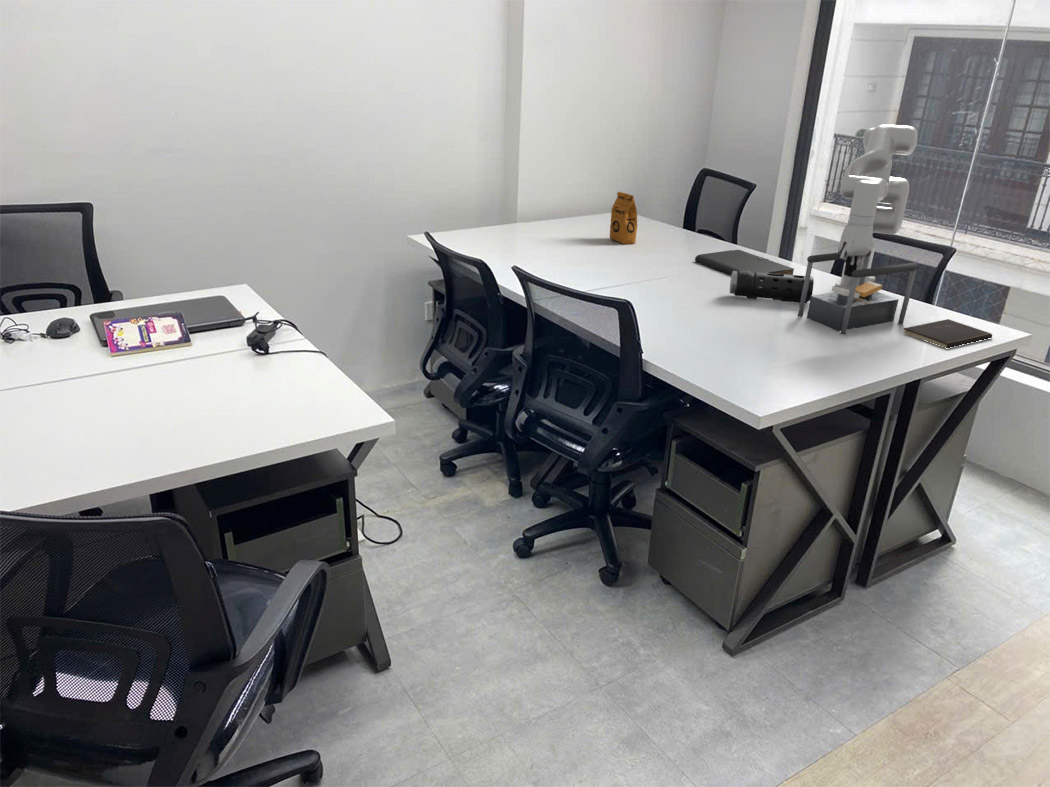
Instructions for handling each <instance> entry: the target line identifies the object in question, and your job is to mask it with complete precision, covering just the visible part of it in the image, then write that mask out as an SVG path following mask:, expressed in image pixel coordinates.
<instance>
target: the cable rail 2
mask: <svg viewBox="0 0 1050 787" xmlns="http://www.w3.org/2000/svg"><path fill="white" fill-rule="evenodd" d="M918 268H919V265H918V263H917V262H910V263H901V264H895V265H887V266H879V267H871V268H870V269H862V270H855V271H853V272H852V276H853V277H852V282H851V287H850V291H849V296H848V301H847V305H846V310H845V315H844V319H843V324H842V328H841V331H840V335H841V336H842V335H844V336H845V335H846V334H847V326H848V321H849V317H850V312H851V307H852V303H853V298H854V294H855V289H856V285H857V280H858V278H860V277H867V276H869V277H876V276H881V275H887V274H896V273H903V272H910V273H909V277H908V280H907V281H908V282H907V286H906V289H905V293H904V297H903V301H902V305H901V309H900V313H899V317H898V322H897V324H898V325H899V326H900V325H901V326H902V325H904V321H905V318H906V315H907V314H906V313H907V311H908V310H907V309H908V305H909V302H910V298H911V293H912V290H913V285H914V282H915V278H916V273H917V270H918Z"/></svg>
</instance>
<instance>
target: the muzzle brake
mask: <svg viewBox="0 0 1050 787" xmlns="http://www.w3.org/2000/svg"><path fill="white" fill-rule="evenodd" d="M804 280H805V275H798V274H793V275H788V274H775V273H764V272H755V273H751V271H749V270H737V271H732V275H730V283H729V294H731V295H732V294H733V295H734V296H735V297H744V298H745V297H746V299H749V300H757V299H759V298H760V299H770V300H772V301H780V302H785V303H786V302H787V303H799V304H800V301H801V296H802V291H803V285H804ZM814 284H815V283H814V276H811V275H810V280H809V286H808V291H807V296H806V301H805V304H807V303H808V302H810V298H811V296H813V291H814Z"/></svg>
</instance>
